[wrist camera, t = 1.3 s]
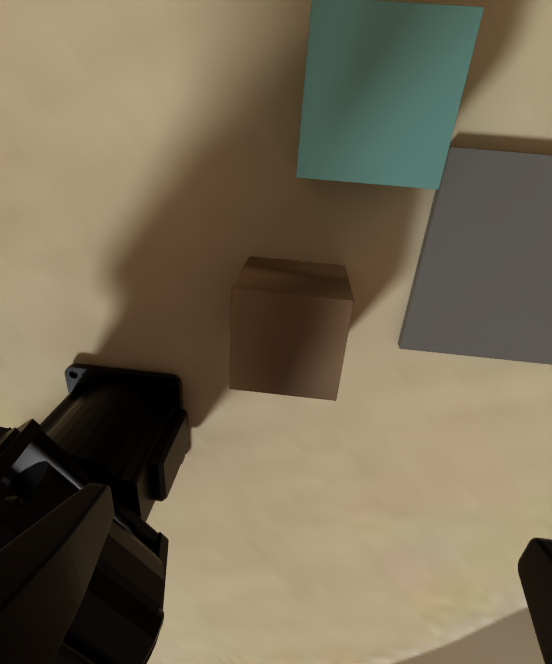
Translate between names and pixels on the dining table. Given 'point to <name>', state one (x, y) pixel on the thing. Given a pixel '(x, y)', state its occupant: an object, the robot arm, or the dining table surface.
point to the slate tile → (486, 260)
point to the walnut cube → (289, 327)
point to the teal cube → (383, 90)
